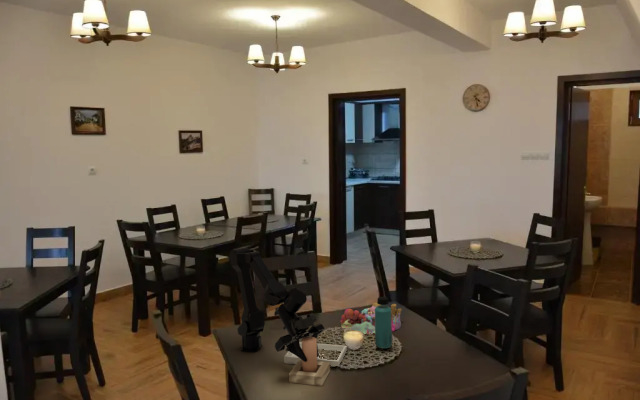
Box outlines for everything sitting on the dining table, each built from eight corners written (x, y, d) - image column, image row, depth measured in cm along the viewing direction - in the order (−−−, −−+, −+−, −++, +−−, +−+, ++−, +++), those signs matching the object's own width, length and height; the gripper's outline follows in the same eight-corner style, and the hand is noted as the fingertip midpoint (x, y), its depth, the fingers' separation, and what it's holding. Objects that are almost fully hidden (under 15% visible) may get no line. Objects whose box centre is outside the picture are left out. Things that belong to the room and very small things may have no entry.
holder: (289, 382, 168) (288, 373, 167) (299, 367, 178) (299, 359, 178) (321, 385, 165) (321, 377, 164) (330, 370, 175) (329, 362, 175)
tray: (284, 363, 182) (284, 356, 182) (296, 347, 196) (296, 341, 195) (338, 368, 177) (338, 361, 177) (346, 352, 190) (346, 345, 190)
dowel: (300, 379, 170) (299, 341, 168) (305, 372, 174) (304, 336, 173) (315, 380, 168) (314, 342, 167) (319, 373, 173) (318, 337, 172)
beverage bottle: (391, 352, 189) (391, 300, 187) (374, 351, 190) (373, 300, 188) (392, 345, 195) (392, 295, 193) (375, 344, 197) (374, 294, 194)
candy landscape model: (363, 313, 235) (363, 293, 234) (410, 322, 221) (410, 301, 220) (333, 329, 214) (333, 308, 213) (382, 341, 201) (382, 318, 200)
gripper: (278, 314, 165) (301, 356, 159) (320, 300, 178) (343, 339, 171) (265, 331, 172) (286, 372, 165) (306, 317, 185) (328, 355, 178)
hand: (312, 359), depth 170 cm, fingers closed on dowel, 5 cm apart
